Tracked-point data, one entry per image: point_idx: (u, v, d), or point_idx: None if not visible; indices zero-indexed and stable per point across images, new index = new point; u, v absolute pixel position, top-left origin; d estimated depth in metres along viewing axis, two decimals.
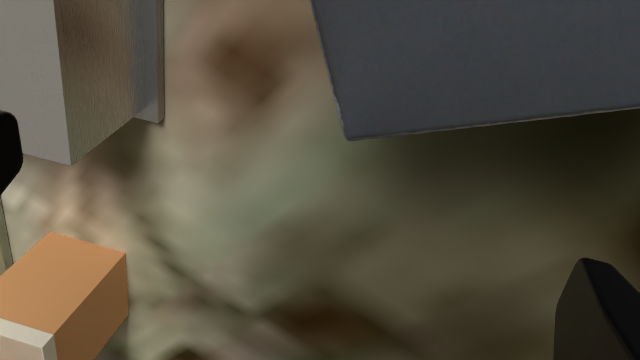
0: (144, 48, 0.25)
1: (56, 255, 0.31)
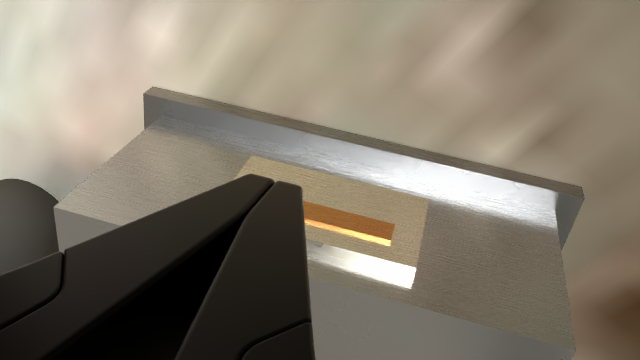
0: None
1: None
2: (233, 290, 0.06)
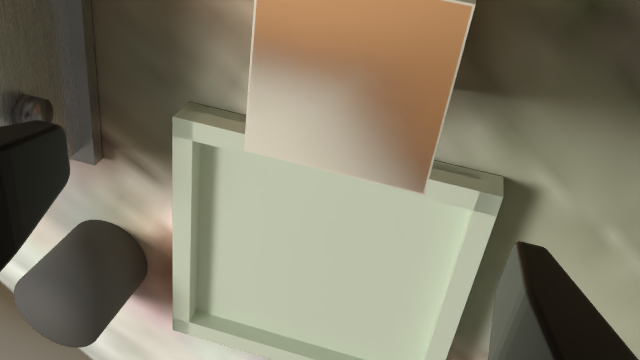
0: None
1: None
2: None
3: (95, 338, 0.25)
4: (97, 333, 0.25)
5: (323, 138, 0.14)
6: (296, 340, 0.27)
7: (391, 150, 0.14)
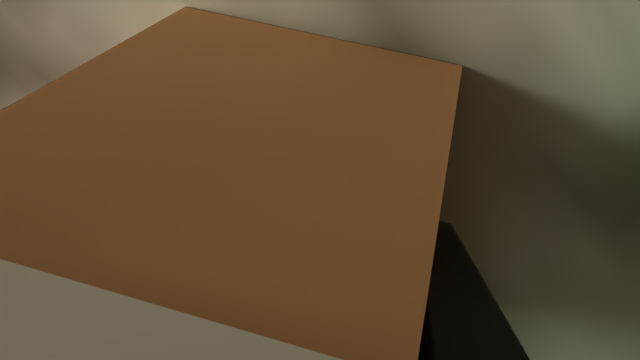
0: None
1: None
2: (455, 353, 0.06)
3: None
4: None
5: None
6: None
7: None
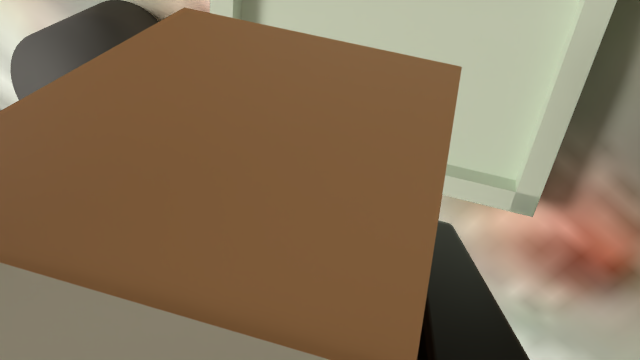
0: None
1: None
2: (455, 353, 0.06)
3: None
4: None
5: None
6: None
7: None
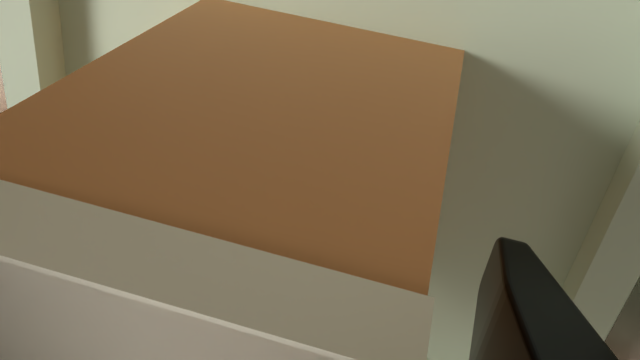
0: None
1: None
2: None
3: None
4: None
5: None
6: None
7: None
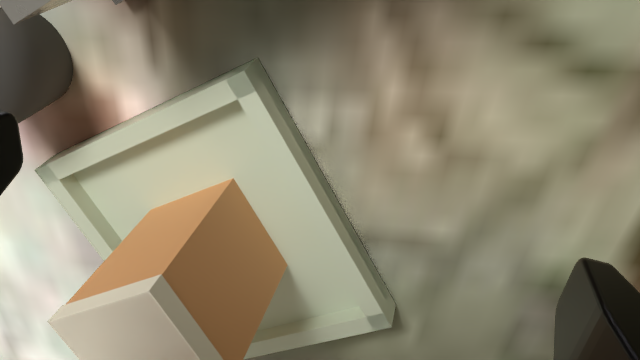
0: None
1: (158, 220, 0.24)
2: None
3: None
4: None
5: (100, 359, 0.20)
6: None
7: None
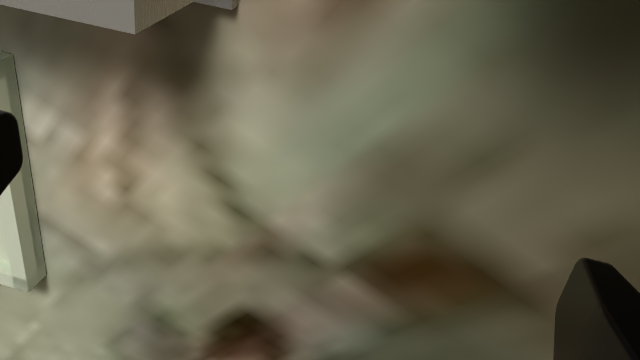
0: None
1: None
2: None
3: None
4: None
5: None
6: None
7: None
